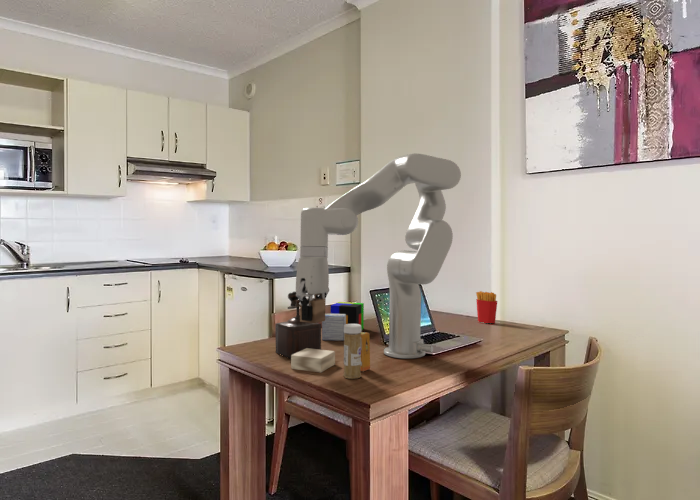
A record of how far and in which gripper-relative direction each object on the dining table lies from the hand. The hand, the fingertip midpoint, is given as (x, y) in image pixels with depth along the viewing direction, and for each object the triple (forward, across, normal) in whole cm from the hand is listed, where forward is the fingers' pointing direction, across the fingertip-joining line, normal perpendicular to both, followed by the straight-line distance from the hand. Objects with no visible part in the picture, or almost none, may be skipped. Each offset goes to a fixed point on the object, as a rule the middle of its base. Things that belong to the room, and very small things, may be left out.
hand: (312, 318), depth 134 cm
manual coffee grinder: (+14, -11, -14) cm, 22 cm away
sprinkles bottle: (+14, +3, +14) cm, 20 cm away
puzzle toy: (+13, -48, -17) cm, 53 cm away
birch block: (+14, 0, 0) cm, 14 cm away
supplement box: (+13, -4, +13) cm, 19 cm away
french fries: (+13, -92, +24) cm, 96 cm away
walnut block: (+1, 0, 0) cm, 1 cm away
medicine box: (+13, -32, -13) cm, 37 cm away
